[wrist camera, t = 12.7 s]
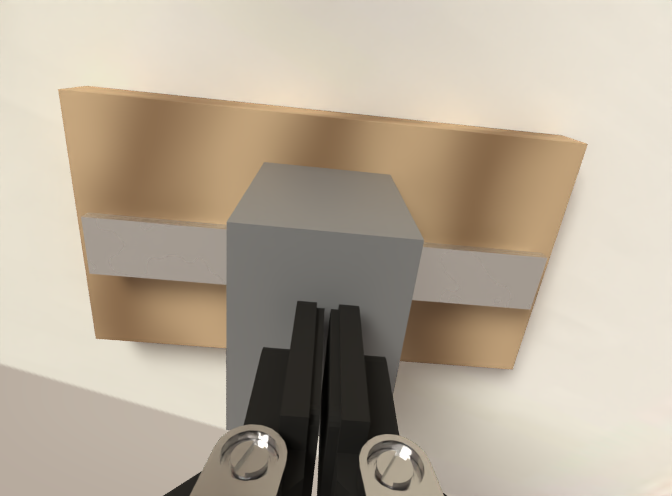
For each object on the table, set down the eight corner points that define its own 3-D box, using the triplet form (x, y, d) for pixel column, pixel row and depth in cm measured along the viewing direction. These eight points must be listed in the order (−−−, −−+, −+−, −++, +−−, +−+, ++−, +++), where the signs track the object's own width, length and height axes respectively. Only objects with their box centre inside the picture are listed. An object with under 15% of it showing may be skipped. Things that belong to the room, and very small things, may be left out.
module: (390, 174, 17) (424, 240, 11) (365, 333, 20) (381, 453, 14) (264, 162, 17) (226, 222, 11) (258, 324, 20) (226, 443, 14)
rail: (531, 242, 18) (547, 257, 17) (516, 291, 19) (530, 309, 18) (100, 204, 17) (81, 216, 16) (107, 257, 18) (89, 273, 17)
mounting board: (562, 135, 18) (587, 144, 17) (497, 344, 23) (512, 369, 21) (86, 85, 17) (58, 89, 16) (115, 315, 22) (95, 338, 20)
